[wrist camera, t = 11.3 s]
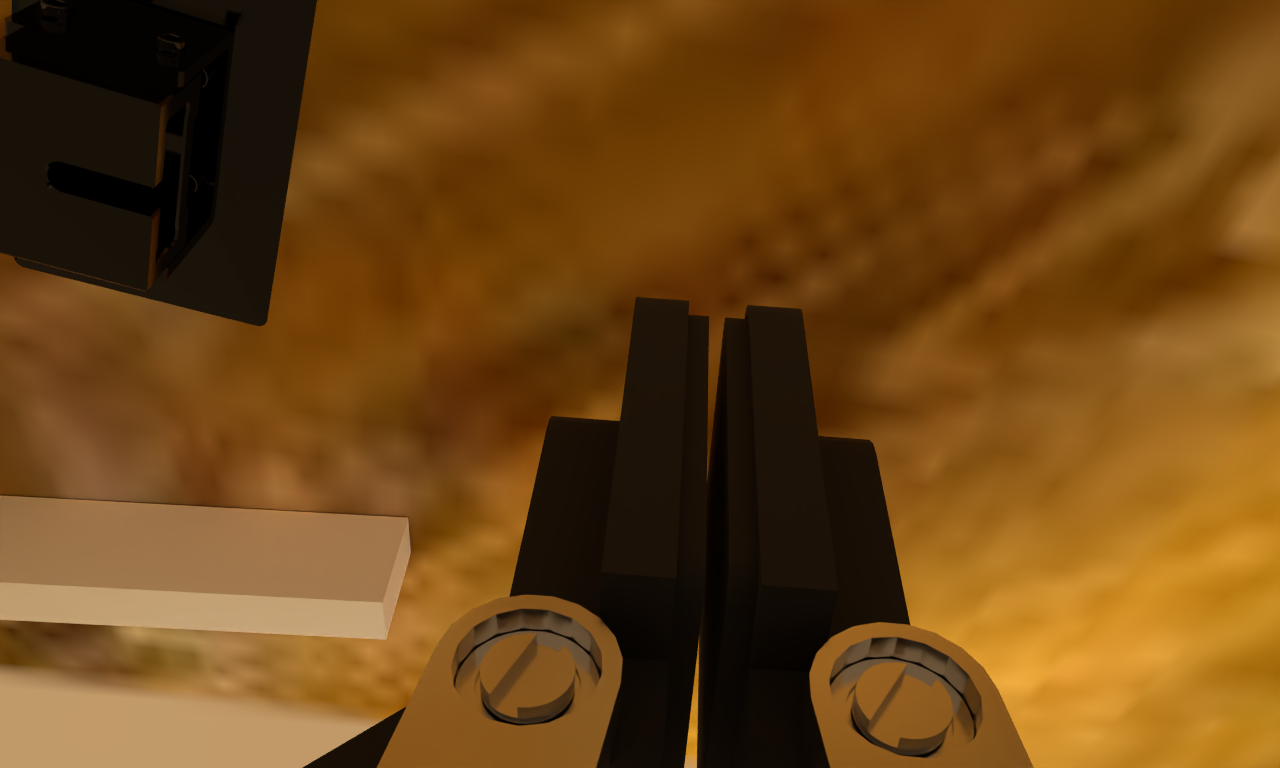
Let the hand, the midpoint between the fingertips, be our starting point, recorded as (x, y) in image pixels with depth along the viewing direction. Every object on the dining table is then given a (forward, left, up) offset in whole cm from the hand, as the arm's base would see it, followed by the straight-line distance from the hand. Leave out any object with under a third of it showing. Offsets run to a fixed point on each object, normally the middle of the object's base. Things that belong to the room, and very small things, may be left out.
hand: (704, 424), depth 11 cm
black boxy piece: (+10, +1, -13) cm, 16 cm away
